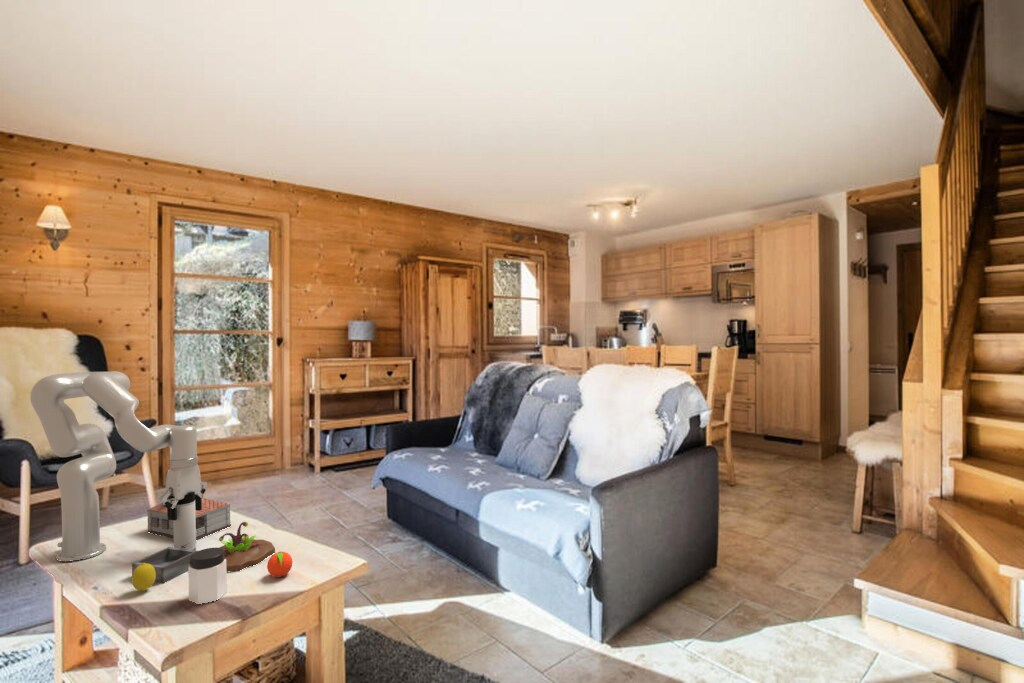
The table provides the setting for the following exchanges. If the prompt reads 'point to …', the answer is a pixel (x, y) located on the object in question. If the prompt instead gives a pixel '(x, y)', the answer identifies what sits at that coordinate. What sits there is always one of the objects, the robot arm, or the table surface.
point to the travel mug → (185, 523)
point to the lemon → (143, 577)
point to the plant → (244, 550)
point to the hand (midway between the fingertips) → (185, 514)
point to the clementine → (279, 564)
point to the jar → (207, 575)
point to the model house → (207, 519)
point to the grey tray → (167, 563)
